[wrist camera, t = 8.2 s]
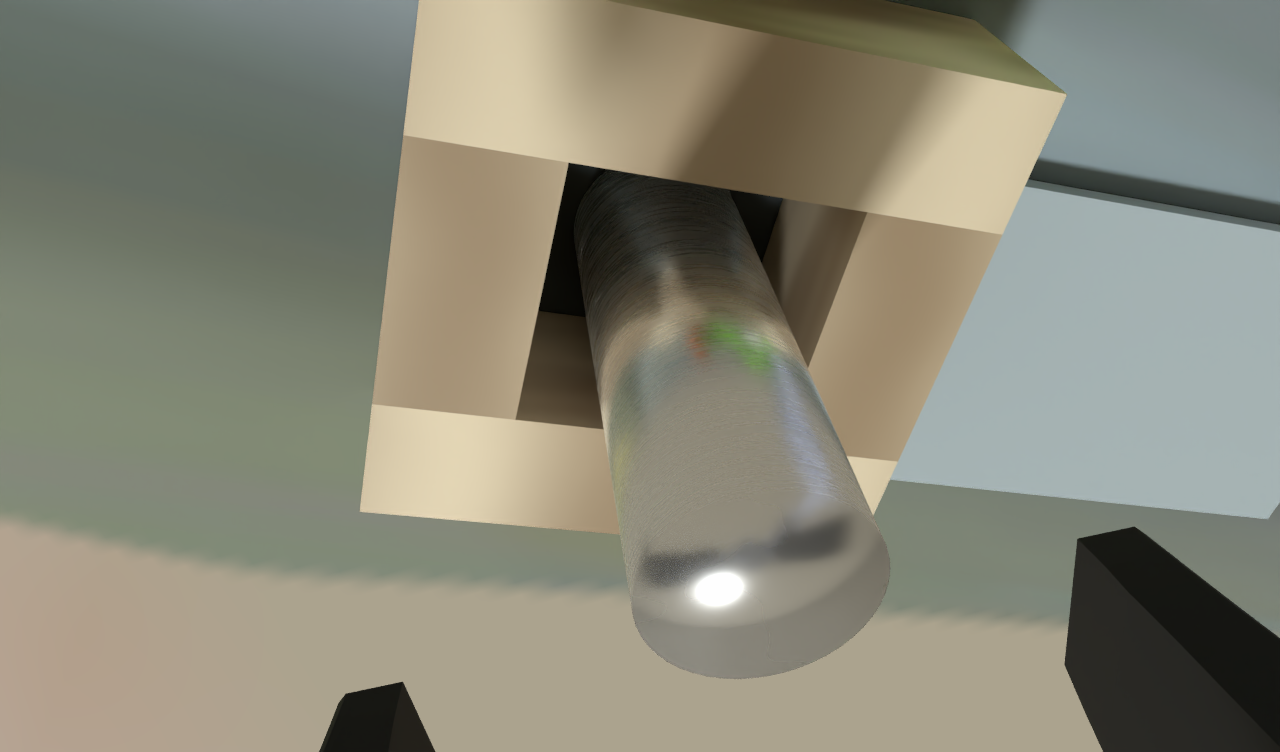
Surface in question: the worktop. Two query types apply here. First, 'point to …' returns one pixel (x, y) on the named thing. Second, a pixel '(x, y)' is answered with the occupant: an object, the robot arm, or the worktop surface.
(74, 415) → the worktop surface
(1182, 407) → the mat
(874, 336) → the block
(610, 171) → the peg
